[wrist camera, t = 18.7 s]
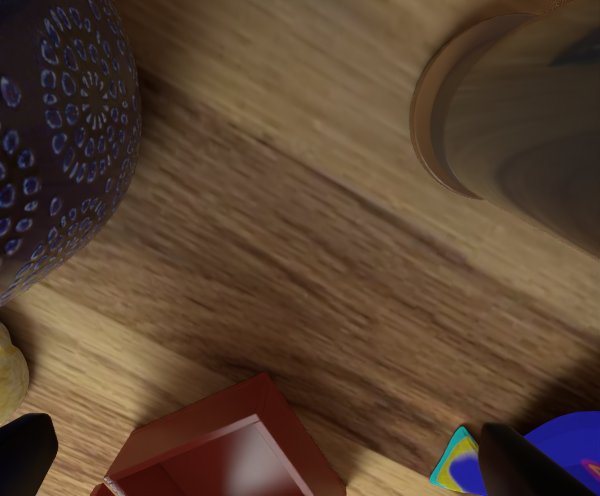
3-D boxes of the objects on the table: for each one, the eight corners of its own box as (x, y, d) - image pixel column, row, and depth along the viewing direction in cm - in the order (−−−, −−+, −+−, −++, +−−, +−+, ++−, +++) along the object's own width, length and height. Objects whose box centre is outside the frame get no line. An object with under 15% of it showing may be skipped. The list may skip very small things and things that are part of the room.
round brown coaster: (600, 13, 16) (617, 7, 15) (567, 194, 19) (579, 198, 18) (413, 23, 17) (418, 18, 16) (405, 198, 19) (408, 202, 18)
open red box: (266, 370, 23) (255, 413, 20) (346, 488, 26) (349, 543, 22) (132, 430, 25) (102, 478, 22) (218, 533, 28) (203, 590, 24)
